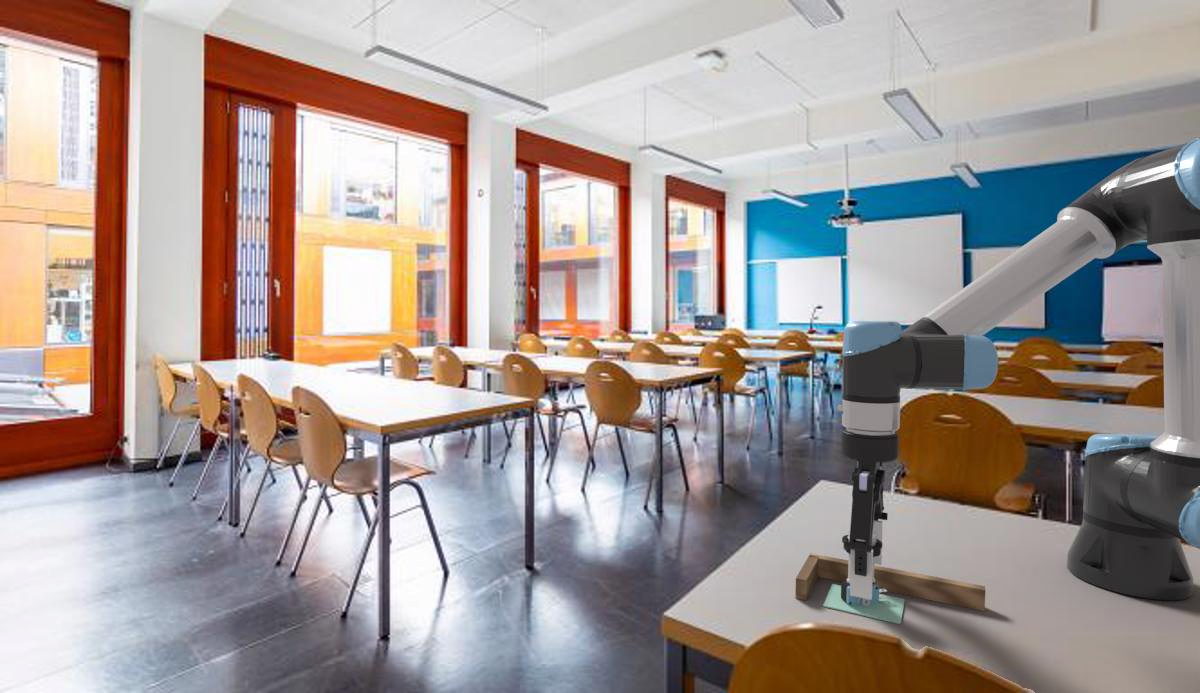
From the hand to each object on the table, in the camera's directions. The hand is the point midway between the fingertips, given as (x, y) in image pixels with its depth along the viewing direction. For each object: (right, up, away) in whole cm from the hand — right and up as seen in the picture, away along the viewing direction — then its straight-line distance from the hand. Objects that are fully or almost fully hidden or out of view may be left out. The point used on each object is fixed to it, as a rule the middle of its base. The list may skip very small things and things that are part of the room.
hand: (866, 578), depth 89 cm
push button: (0, -4, +1) cm, 4 cm away
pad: (0, -4, +1) cm, 4 cm away
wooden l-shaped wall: (+3, -4, +1) cm, 5 cm away
